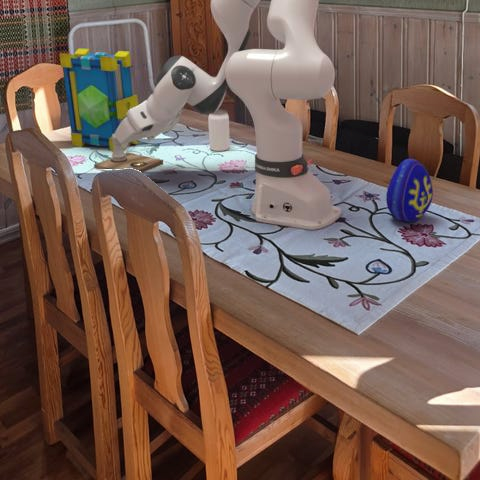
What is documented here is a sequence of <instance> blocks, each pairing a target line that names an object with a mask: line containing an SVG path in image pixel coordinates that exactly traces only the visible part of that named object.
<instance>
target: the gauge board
mask: <svg viewBox="0 0 480 480" xmlns="http://www.w3.org/2000/svg"><path fill="white" fill-rule="evenodd" d="M124 153H125V154H126V156H125V157H126V160H125V161H122V162H114V161H113V160H112V158H113V157H110V158H107V159H105V160H103V161H100V162H97V163H94V165H93V167H94V168H93V169H95V168H98V169H97V170H99V169H124V168H133V169H136V170H139V171H141V172H142V173H144V172H147V171H150V170H152V169H154V168H156V167H159V166H161V165H163V164H164V159H160V158H154V157H151V156H147V155H146V156H145V155H141V154H137V153H132V152H124ZM135 162H143V165H141V166H134V165H133V163H135Z"/></svg>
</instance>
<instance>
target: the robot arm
mask: <svg viewBox="0 0 480 480" xmlns="http://www.w3.org/2000/svg"><path fill="white" fill-rule="evenodd" d="M319 1H320V0H270V5H269V9H268V13H267V18H266V25H267V30H268V31H269V33H270V34H271V35H272V37H274V38H275V40H277V41H279V42H281V43H282V44H284V48H282V49H281V48H280V49H269V48H267V49H265V48H251V49H247V47H248V44H249V41H250V40H251V35H252V34H251V33H252V31H251V29H250V25H249V24H250V21H251V17H252V14H253V12H254V11H255V9H256V7H257V5H259V3H260V2H261V0H210V11H211V15H212V18H213V20H214V21H215V23H216V25H217V26H218V28H219V29H220V31H221V32H222V34H223V35H224V38H225V39H226V42H227V48H228V49H227V50H228V51H227V53H226V56H225V58H224V61H223V62H222V64H221V66H220V69H219V71H218V73H217V75H216V76H211V75H210V74H208V73H207V72H206V71H204V70H203V69H202V68H200V67H199V66H197V64H195V63H194V62H193V61H191V60H190V59H188V58H187V57H185V56H183V55H175V56H171V57H169V58H168V60H167V61H166V62H165V63H164V65H163V67H162V69H161V70H160V71H159V72H158V74H157V76H156V86H155V88H154V90H153V93H151V94H150V95H149V96H148V97H147V99H145V100H143V102H140V104H138V106H136V107H134V108H132V109H130V110H128V112H127V117H126V118H125V119H124V120H123V121H122V122H121V123H120V125H119V126H118V128H117V130H116V132H115V136H116V138H117V140H118V141H119V142H120V143H121V144H122V146H123V148H124V149H126V148H129V147H130V146H131V144H130V142H133V141H136V140H137V141H139V140H142V139H146V138H147V141H149V142H150V141H154V140H155V138H156V137H158V136H159V135H161V134H164V133H166V132H169V131H172V130H174V129H175V127H177V124H178V123H179V121H180V119H181V114H182V113H183V111H184V109H183V108H184V106H185V105H186V103H187V104H188V105H189V106H191V107H192V108H193V110H195V111H197V113H199V114H200V115H209V114H212V113H214V112H215V111H216V110H219V109H220V107H221V106H222V105H223V101H224V99H225V96H226V93H227V90H228V88H229V89H230V91H231V92H232V93H234V94H235V95H236V96H238V98H239V99H240V100H241V101H242V102H243V103H244V105H245V106H246V108H247V109H248V111H249V113H250V116H251V118H252V121H253V125H254V130H255V131H254V132H255V144H256V145H255V146H256V150H255V151H256V154H255V155H254V170H255V174H256V175H255V176H256V177H255V188H254V194H253V200H252V204H251V207H250V211H251V213H252V214H253V215H254V217H255V218H254V219H255V221H256V222H259V223H267V224H271V225H277V226H278V225H279V226H286V227H291V228H298V229H303V230H304V229H305V230H309V231H310V230H312V231H314V230H318V229H322V228H325V227H328V226H329V225H331V224H333V223H334V222H336V221H337V220H338V219H340V217H341V215H342V209H341V208H340V207H338V206H335V205H333V201H332V195H331V191H330V189H329V188H328V187H327V186H326V185H325V184H324V183H323V182H321V181H320V180H319V179H318V178H317V177H316V176H315V175H314V174H313V173H312V172H310V170H309V166H310V165H312V164H313V163H312V161H313V159H312V158H311V159H309V160H306V158H305V155H304V154H303V125H302V123H301V121H300V120H299V118H298V117H297V116H296V115H295V114H293V113H291V112H289V111H288V110H286V109H285V107H284V105H282V103H281V100H292V101H293V100H294V101H309V100H310V101H311V100H316V99H322V98H325V97H326V96H327V95H329V92H331V90H332V88H333V86H334V84H335V79H336V78H335V77H336V71H335V70H336V69H335V67H334V64H333V61H332V60H331V59H330V58H329V56H328V55H327V54H325V52H323V51H322V50H321V48H320V47H319V45H318V43H317V41H316V36H315V24H316V17H317V14H318V13H317V12H318V7H319V3H320V2H319Z"/></svg>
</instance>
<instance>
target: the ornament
mask: <svg viewBox="0 0 480 480" xmlns="http://www.w3.org/2000/svg"><path fill="white" fill-rule="evenodd" d="M433 193H434V191H433V184H432V180H431V176H430V174H429V172H428V169H427V168H426V167H425V166H424V164H422V163H421V162H419V161H418V160H417V159H413V158H406V159H403V161H401V162H400V164H399V165H398V166H397V168H396V169H395V170H394V172H393V174H392V177H391V178H390V181H389V184H388V186H387V190H386V193H385V194H386V195H385V199H386V200H385V201H386V205H387V209H388V212H389V213H390V214H391V216H393V218H395V219H397V220H399V221H402V222H405V223H406V222H408V223H409V222H410V223H411V222H415V221H417V220H419V219H421V218H422V217H423V216H424V215H425V214H426V213H427V211H428V210H429V208H430V207H431V205H432V201H433V195H434V194H433Z"/></svg>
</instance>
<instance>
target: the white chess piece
mask: <svg viewBox="0 0 480 480" xmlns="http://www.w3.org/2000/svg"><path fill="white" fill-rule="evenodd" d="M112 139H113V145H114V150H113V151H112V154H111V158H112V160H113V161H114V162H122V161H125V160H126V157H125V156H126V154H125V153H126V152H125V151H124V149H123V148H122V144H121V143H120V142H119V141H118V140H117V138H116V136H115V133H114V134H112Z"/></svg>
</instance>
